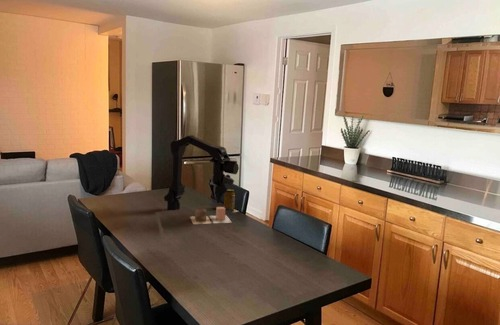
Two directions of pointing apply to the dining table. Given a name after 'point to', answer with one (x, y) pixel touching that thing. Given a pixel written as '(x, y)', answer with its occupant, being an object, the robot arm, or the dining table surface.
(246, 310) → the dining table surface
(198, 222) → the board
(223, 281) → the dining table surface
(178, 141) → the robot arm
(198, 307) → the dining table surface
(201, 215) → the walnut block
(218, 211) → the salmon orange block
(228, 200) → the condiment
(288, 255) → the dining table surface
